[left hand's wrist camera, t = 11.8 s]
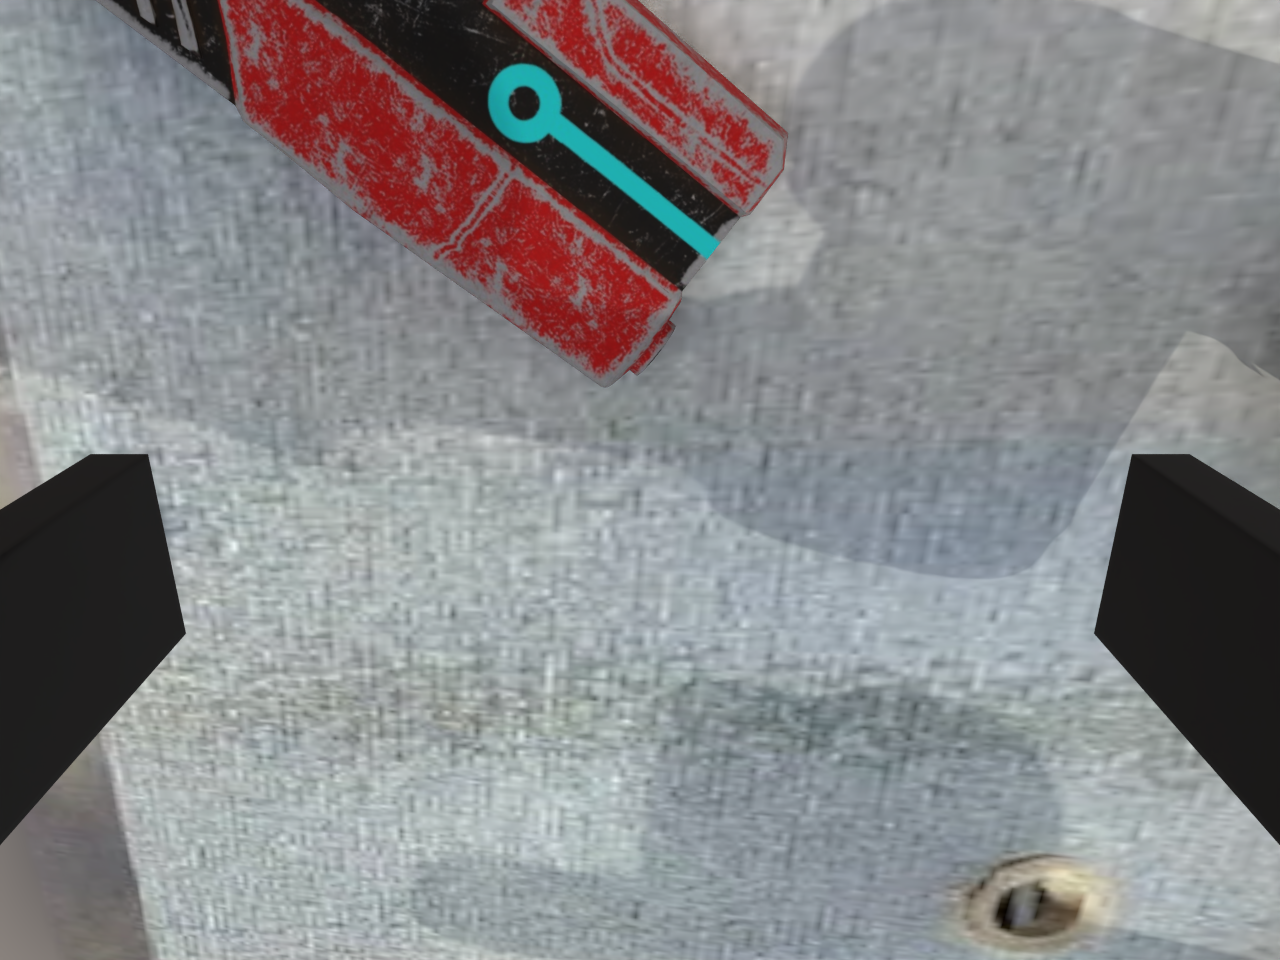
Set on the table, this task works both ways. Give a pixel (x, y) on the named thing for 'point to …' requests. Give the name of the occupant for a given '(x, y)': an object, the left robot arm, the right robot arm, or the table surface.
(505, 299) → the gun
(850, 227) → the table surface
